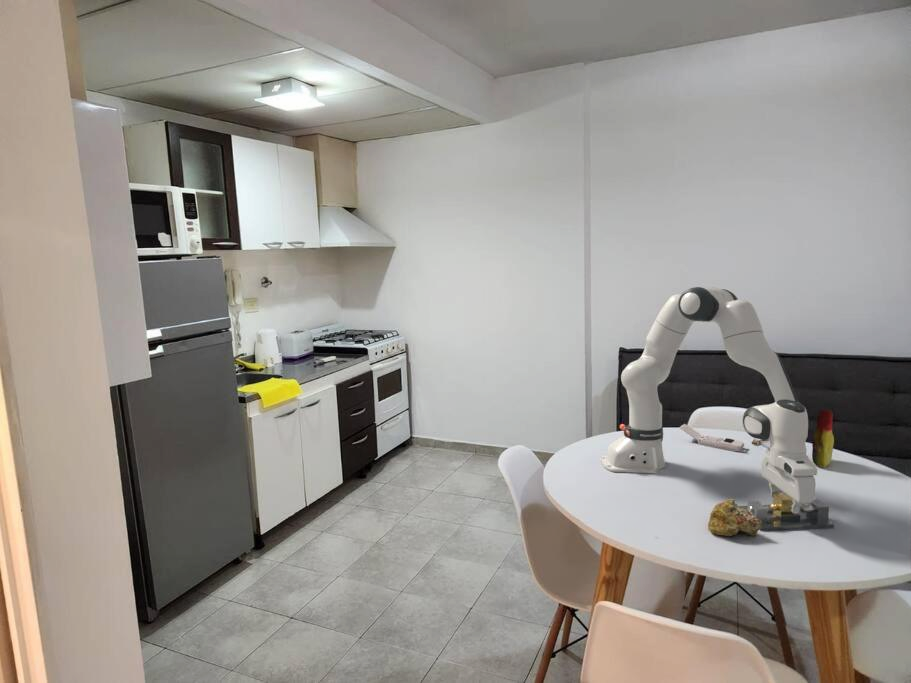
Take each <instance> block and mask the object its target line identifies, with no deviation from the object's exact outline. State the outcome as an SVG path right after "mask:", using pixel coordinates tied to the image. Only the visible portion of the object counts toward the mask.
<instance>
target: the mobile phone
mask: <svg viewBox="0 0 911 683" xmlns="http://www.w3.org/2000/svg"><path fill="white" fill-rule="evenodd" d="M679 429H680V430H682V431H684V433H686V434H687V435H689V436H690V437H691V438H693V439H695V440H696V441H697V443H698V445H701V446H704V447H705V446H706V447H709V446H710V448H714V447H715V449H719V448H720V449H721V450H725V451H731V452H739V453H747V450H745V449H744V448H745V443H744V442H743V441H740V440H737V439H733V438H728V437H725V438H724V437H723V438H722V437H717V436H711V435H710V436H709V435H704V434H703V435H702V434H700V433H699V432H698V431H696V430H695V429H693V428H692V427H691V426H690V425H688V424H686V423H684V424H682V425H680V426H679ZM720 449H719V450H720Z"/></svg>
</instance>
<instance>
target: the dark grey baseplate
mask: <svg viewBox="0 0 911 683" xmlns="http://www.w3.org/2000/svg"><path fill="white" fill-rule="evenodd" d="M770 505H771V504H762V502H760V501H759V500H754V501H753V500H751V501H749V500H748V501H747V505H738V506H739V507H740V508H743V509H745V510H748V511H749V512H750V514H752V515H753V516H755V517H757V518H758V519H759V520H760V521H761V522H762V526H761V528H760V530H759V531H760V532H761V531H786V530H788V531H789V530H790V531H791V530H816V529H834V528H835V524H834V523H832V522H831V521H830V520H829V517H830V516H829V514H830V506H829V505H827V504H826V503H824V502H823V501H821V500H820V499H819V498H814V501H813V502H812V503H811V504H802V505H801V506H800V508H799V513H797V514H787V515H781V518H780V517H778V516H777V515H776V514H775V513H774V512H773V508H772V506H770Z"/></svg>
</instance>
